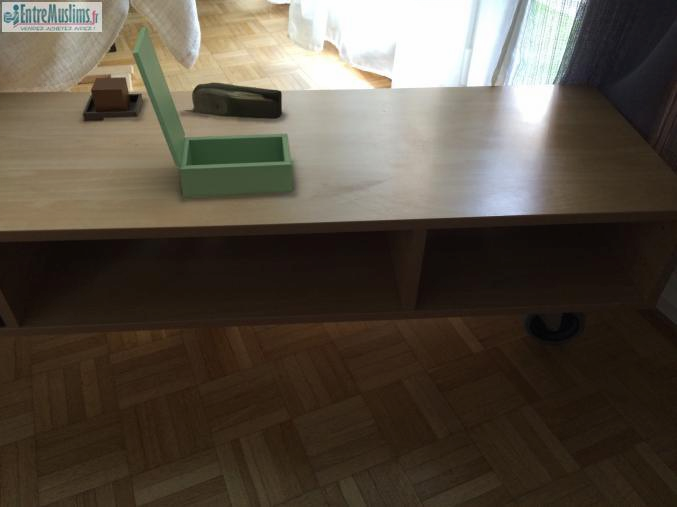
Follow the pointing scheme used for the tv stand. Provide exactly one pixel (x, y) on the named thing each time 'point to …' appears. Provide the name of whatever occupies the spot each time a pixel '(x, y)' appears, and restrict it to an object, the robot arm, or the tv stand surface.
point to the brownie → (111, 94)
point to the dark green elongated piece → (236, 101)
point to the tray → (133, 111)
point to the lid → (159, 94)
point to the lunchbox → (236, 165)
